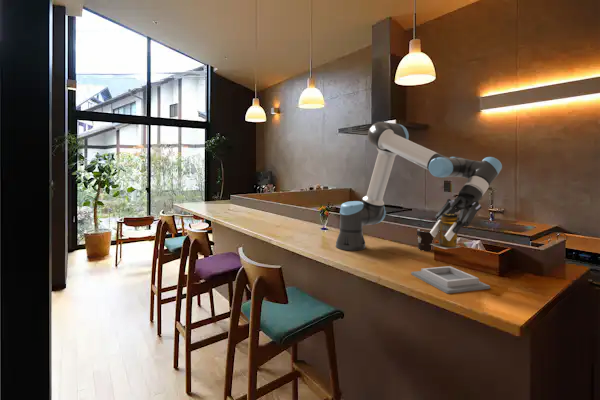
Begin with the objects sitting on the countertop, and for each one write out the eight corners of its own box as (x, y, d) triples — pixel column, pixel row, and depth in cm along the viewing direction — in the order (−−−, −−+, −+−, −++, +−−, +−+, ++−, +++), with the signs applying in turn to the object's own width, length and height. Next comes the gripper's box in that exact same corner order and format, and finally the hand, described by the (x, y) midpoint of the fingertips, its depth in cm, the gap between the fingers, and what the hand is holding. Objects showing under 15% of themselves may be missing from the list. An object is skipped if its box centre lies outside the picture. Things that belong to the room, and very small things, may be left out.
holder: (411, 274, 130) (411, 266, 130) (449, 270, 135) (449, 263, 135) (447, 293, 111) (447, 284, 111) (489, 288, 116) (490, 280, 116)
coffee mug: (435, 252, 164) (436, 232, 163) (417, 251, 166) (418, 231, 164) (431, 246, 175) (432, 228, 174) (414, 245, 177) (415, 227, 176)
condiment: (462, 247, 121) (464, 214, 120) (444, 249, 118) (446, 216, 117) (446, 243, 128) (447, 212, 127) (429, 244, 125) (431, 213, 123)
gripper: (501, 199, 119) (466, 249, 114) (456, 195, 136) (424, 238, 131) (492, 185, 116) (456, 235, 111) (447, 182, 133) (415, 225, 128)
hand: (439, 236), depth 121 cm, fingers closed on condiment, 6 cm apart
